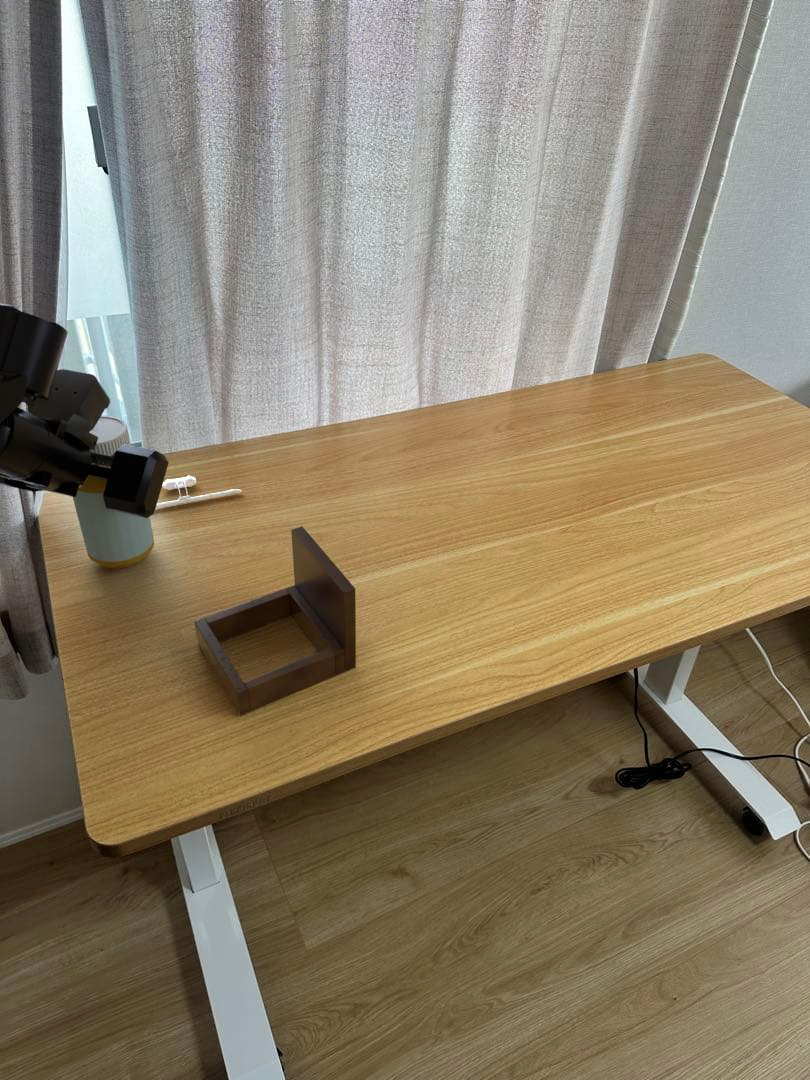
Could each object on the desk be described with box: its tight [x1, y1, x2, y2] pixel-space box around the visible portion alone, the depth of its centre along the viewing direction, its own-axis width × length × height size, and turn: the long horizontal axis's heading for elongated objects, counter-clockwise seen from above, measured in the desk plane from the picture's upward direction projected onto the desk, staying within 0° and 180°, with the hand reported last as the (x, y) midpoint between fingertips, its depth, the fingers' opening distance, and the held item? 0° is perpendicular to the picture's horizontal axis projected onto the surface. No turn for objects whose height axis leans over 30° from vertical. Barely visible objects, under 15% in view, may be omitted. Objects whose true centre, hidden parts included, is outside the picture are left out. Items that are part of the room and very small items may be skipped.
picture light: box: [155, 474, 243, 510], centre depth 98 cm, size 14×4×2 cm, turn 112°
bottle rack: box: [193, 525, 357, 717], centre depth 75 cm, size 12×11×10 cm
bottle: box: [72, 414, 155, 569], centre depth 84 cm, size 7×7×15 cm
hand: (116, 486), depth 85 cm, fingers closed on bottle, 7 cm apart
